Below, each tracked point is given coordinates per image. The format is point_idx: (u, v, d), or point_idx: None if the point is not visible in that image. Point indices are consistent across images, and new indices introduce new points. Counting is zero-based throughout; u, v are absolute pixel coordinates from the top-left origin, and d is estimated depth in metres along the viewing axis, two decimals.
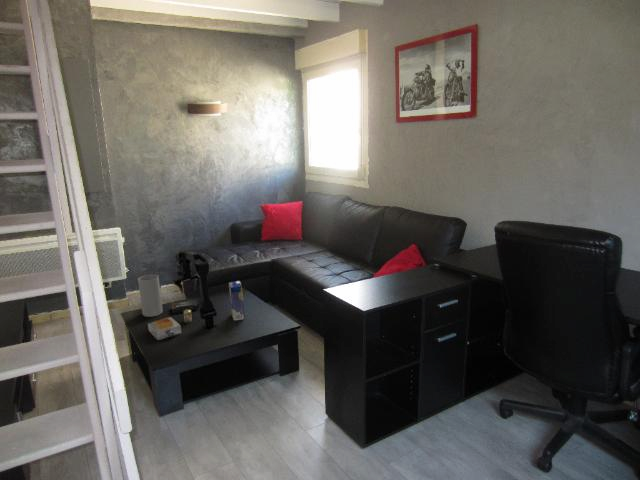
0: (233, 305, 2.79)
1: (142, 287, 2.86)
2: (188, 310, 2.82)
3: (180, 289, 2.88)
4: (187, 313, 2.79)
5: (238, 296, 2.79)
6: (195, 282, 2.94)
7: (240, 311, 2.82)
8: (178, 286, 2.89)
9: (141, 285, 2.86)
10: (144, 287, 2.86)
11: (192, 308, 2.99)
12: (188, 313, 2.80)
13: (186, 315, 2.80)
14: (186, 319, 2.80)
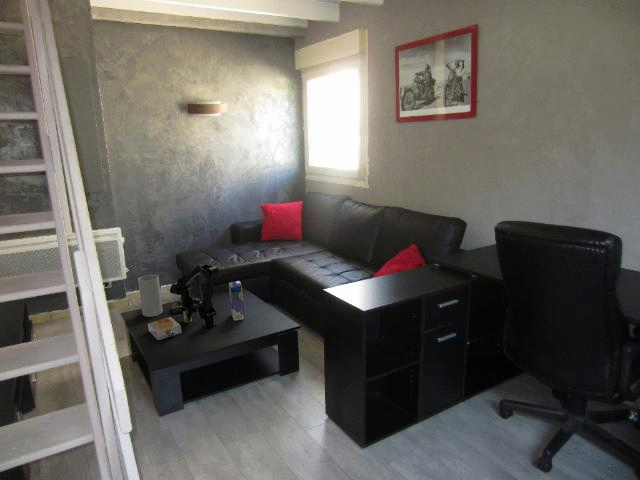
0: (233, 305, 2.79)
1: (142, 287, 2.86)
2: None
3: None
4: None
5: (238, 296, 2.79)
6: None
7: (240, 311, 2.82)
8: None
9: (141, 285, 2.86)
10: (144, 287, 2.86)
11: None
12: None
13: None
14: (186, 319, 2.80)
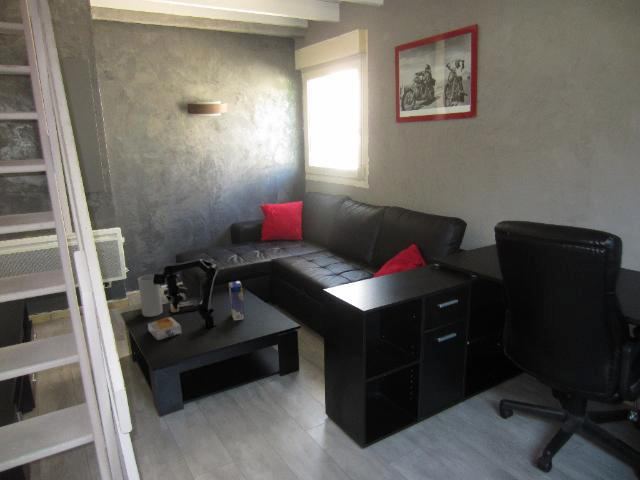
0: (233, 305, 2.79)
1: (142, 287, 2.86)
2: None
3: None
4: None
5: (238, 296, 2.79)
6: None
7: (240, 311, 2.82)
8: None
9: (141, 285, 2.86)
10: (144, 287, 2.86)
11: (193, 308, 2.99)
12: None
13: None
14: (172, 308, 2.71)
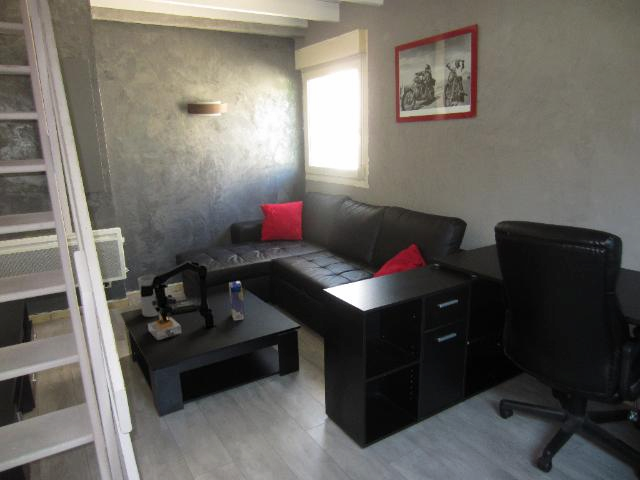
0: (233, 305, 2.79)
1: None
2: None
3: None
4: None
5: (238, 296, 2.79)
6: None
7: (240, 311, 2.82)
8: None
9: (141, 285, 2.86)
10: None
11: (193, 308, 2.99)
12: None
13: None
14: (161, 319, 2.64)
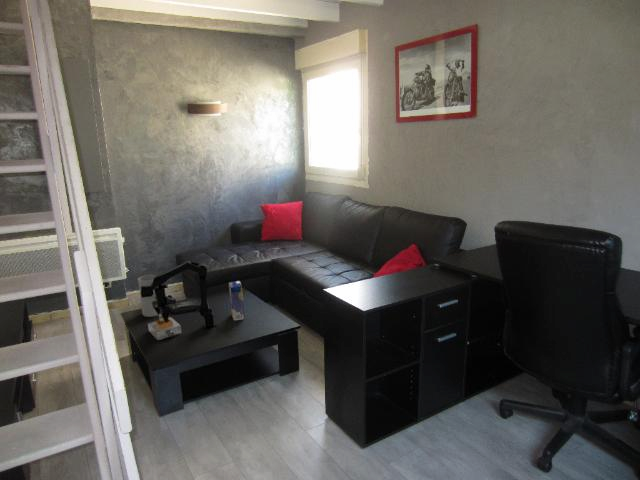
0: (233, 305, 2.79)
1: None
2: None
3: None
4: None
5: (238, 296, 2.79)
6: None
7: (240, 311, 2.82)
8: (160, 309, 2.70)
9: (141, 285, 2.86)
10: None
11: (193, 308, 2.99)
12: None
13: (161, 318, 2.64)
14: (161, 322, 2.64)
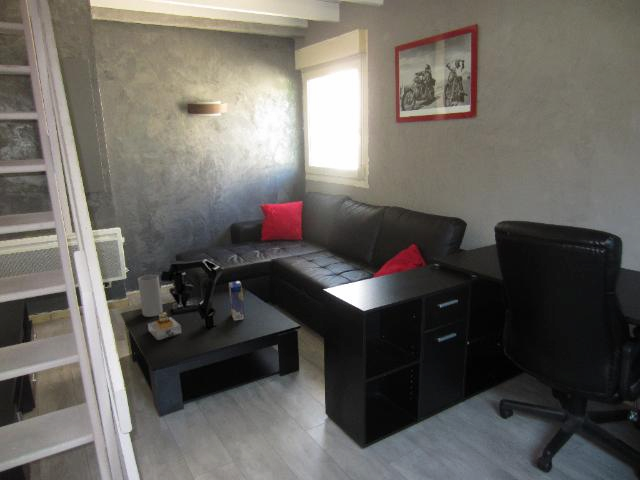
0: (233, 305, 2.79)
1: (142, 287, 2.86)
2: (164, 313, 2.66)
3: None
4: (162, 316, 2.63)
5: (238, 296, 2.79)
6: None
7: (240, 311, 2.82)
8: None
9: (141, 285, 2.86)
10: (144, 287, 2.86)
11: (193, 308, 2.99)
12: (163, 316, 2.64)
13: (161, 318, 2.64)
14: (161, 322, 2.64)
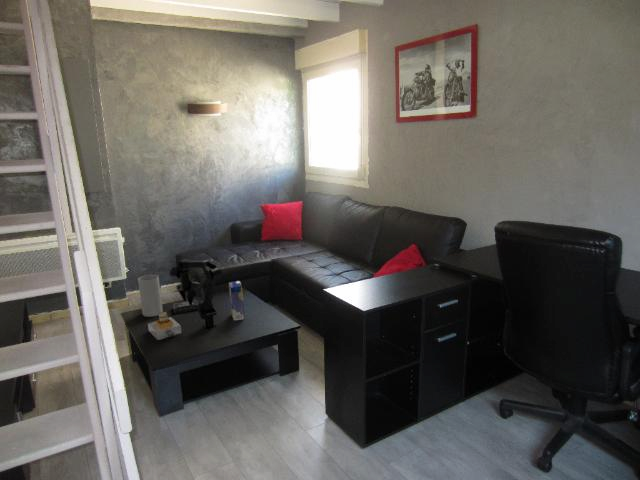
0: (233, 305, 2.79)
1: (142, 287, 2.86)
2: (164, 313, 2.66)
3: None
4: (162, 316, 2.63)
5: (238, 296, 2.79)
6: None
7: (240, 311, 2.82)
8: (184, 292, 2.85)
9: (141, 285, 2.86)
10: (144, 287, 2.86)
11: (194, 308, 2.99)
12: (163, 316, 2.64)
13: (161, 318, 2.64)
14: (161, 322, 2.64)
